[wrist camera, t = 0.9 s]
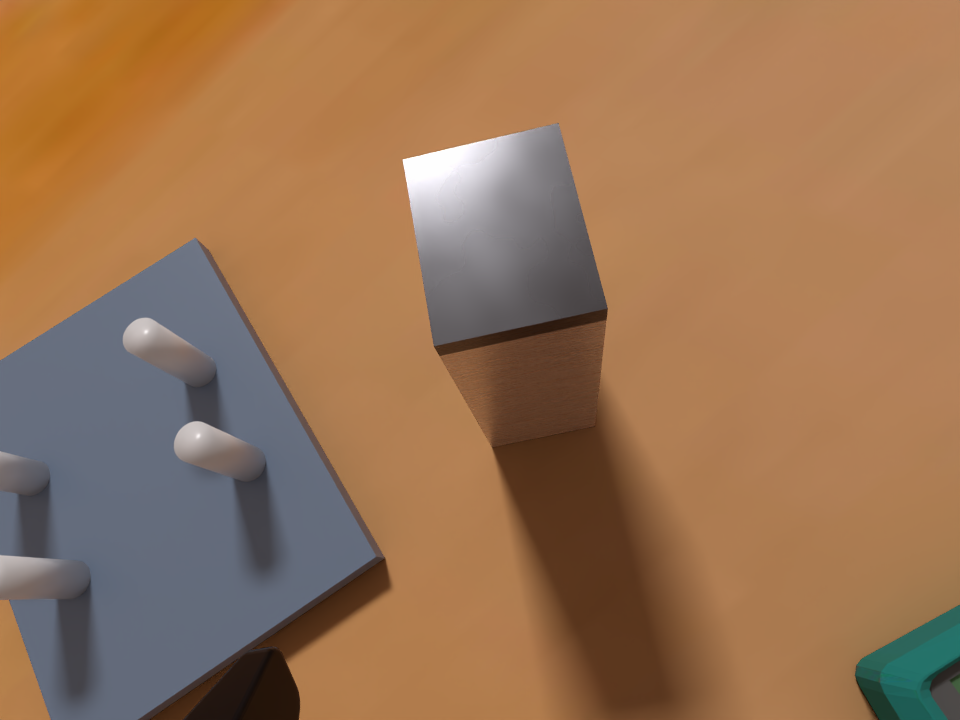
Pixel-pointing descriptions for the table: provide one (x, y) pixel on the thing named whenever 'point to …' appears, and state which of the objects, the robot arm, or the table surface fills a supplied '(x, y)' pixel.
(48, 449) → the grey pegged base
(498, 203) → the plate
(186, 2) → the table surface
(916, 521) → the table surface
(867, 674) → the digital multimeter
